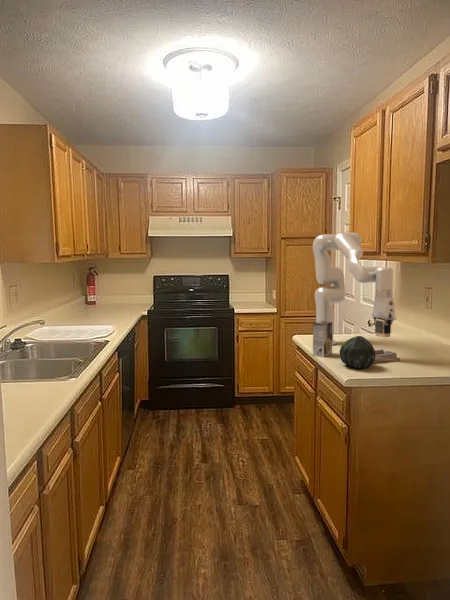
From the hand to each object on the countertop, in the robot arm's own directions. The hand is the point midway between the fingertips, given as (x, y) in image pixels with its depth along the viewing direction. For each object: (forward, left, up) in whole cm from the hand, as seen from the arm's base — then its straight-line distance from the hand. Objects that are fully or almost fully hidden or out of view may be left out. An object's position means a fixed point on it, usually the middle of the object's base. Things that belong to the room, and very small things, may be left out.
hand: (382, 332), depth 200 cm
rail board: (0, -3, -13) cm, 13 cm away
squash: (+7, -20, -13) cm, 25 cm away
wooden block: (0, 0, -2) cm, 2 cm away
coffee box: (-18, -21, -13) cm, 31 cm away
